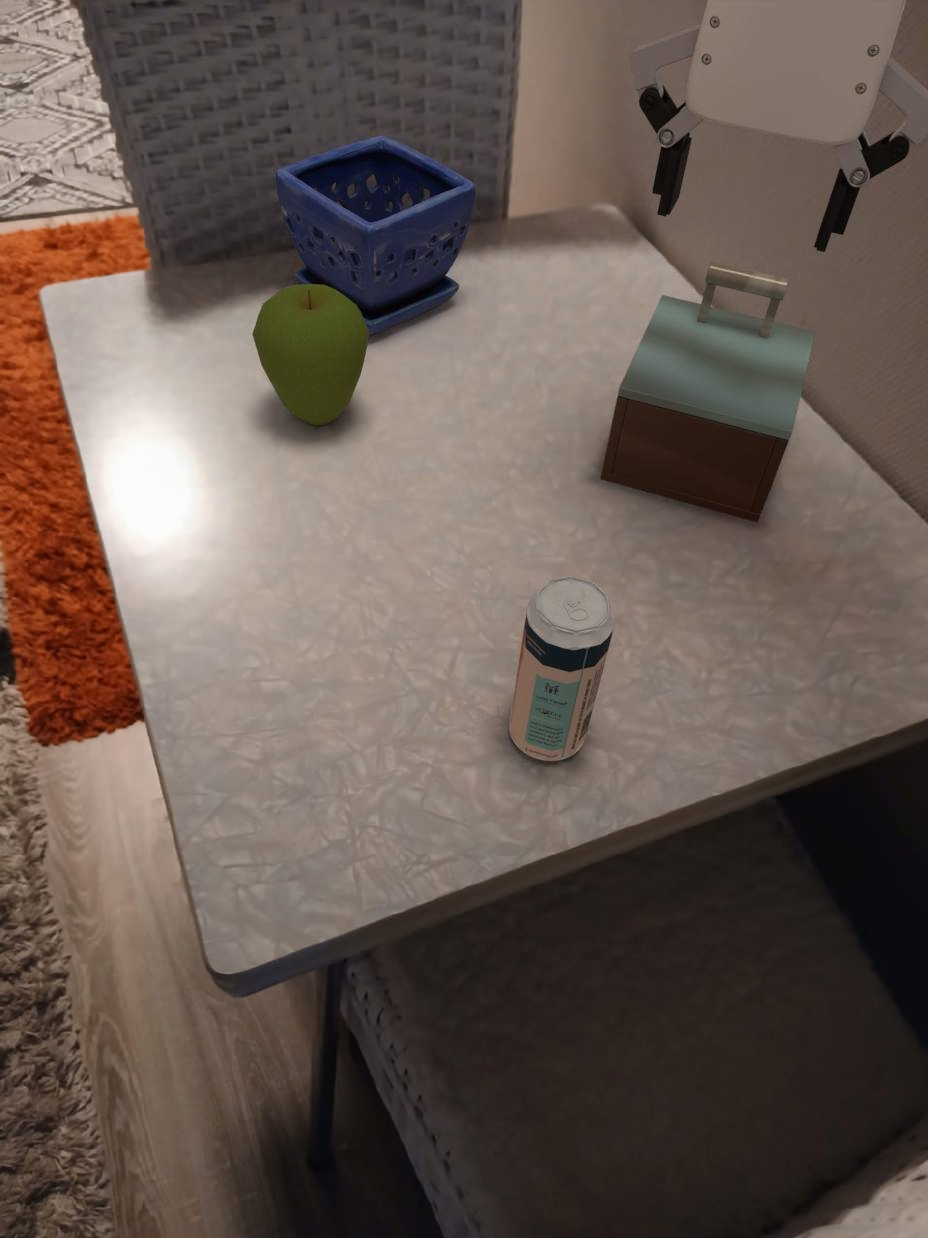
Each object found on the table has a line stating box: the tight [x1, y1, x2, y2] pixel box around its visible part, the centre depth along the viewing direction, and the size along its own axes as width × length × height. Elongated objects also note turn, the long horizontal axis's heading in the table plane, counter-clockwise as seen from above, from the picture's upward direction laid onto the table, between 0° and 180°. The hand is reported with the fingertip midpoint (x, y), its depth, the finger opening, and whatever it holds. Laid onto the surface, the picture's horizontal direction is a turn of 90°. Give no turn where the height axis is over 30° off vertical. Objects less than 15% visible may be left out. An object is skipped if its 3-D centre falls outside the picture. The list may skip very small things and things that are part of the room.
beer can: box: [508, 575, 616, 762], centre depth 56 cm, size 5×5×12 cm
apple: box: [252, 284, 371, 427], centre depth 76 cm, size 9×8×12 cm
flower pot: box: [275, 135, 477, 335], centre depth 89 cm, size 13×13×12 cm
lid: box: [617, 260, 817, 441], centre depth 73 cm, size 14×13×6 cm
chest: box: [600, 395, 790, 523], centre depth 78 cm, size 14×13×8 cm
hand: (743, 223), depth 60 cm, fingers open, 9 cm apart
